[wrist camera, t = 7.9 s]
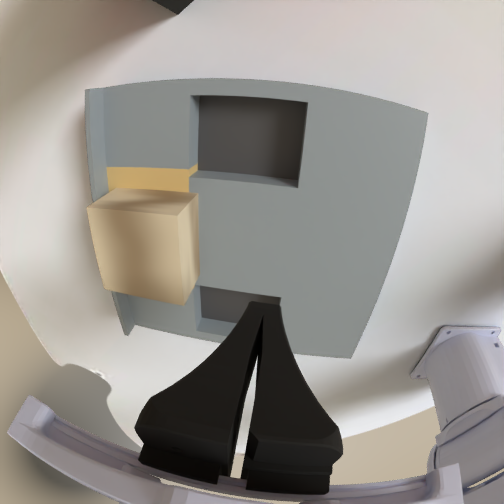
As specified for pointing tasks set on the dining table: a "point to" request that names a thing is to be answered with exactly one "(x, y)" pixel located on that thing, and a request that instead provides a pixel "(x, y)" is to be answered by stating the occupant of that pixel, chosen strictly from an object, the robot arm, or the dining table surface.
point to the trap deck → (265, 197)
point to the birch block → (147, 242)
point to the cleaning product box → (174, 4)
